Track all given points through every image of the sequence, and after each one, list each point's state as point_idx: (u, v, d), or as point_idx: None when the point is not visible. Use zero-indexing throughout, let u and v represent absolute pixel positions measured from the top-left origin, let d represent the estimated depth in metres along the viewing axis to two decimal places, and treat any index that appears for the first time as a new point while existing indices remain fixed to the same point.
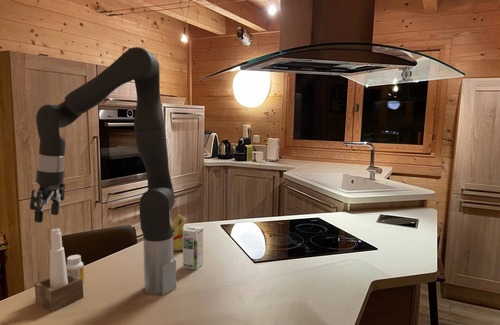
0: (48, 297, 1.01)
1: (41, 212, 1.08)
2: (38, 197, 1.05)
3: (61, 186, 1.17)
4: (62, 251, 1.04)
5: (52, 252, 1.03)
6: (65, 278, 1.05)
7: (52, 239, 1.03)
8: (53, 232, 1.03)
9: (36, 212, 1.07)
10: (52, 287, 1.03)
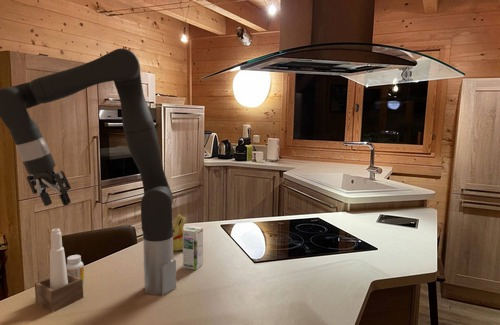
0: (48, 297, 1.01)
1: None
2: (64, 176, 1.03)
3: None
4: (62, 251, 1.04)
5: (52, 252, 1.03)
6: (65, 278, 1.05)
7: (52, 239, 1.03)
8: (53, 232, 1.03)
9: (64, 194, 1.05)
10: (52, 287, 1.03)
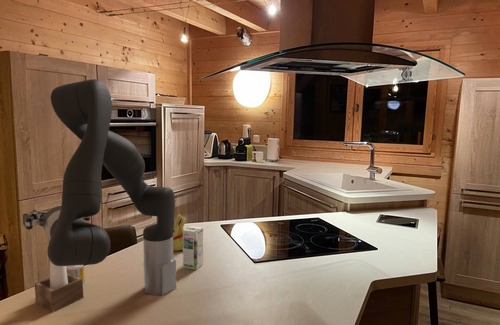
0: (48, 297, 1.01)
1: None
2: None
3: (31, 219, 0.82)
4: None
5: None
6: (65, 278, 1.05)
7: None
8: None
9: None
10: (52, 287, 1.03)
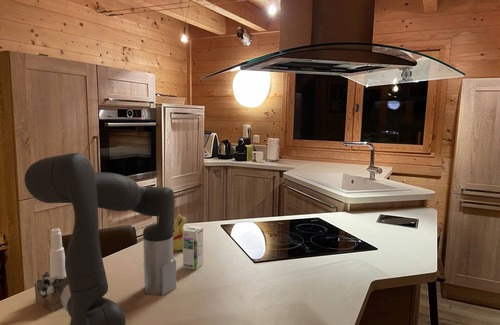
0: (48, 297, 1.01)
1: None
2: None
3: (46, 287, 0.88)
4: (62, 251, 1.04)
5: (52, 252, 1.03)
6: None
7: (52, 239, 1.03)
8: (53, 232, 1.03)
9: None
10: None
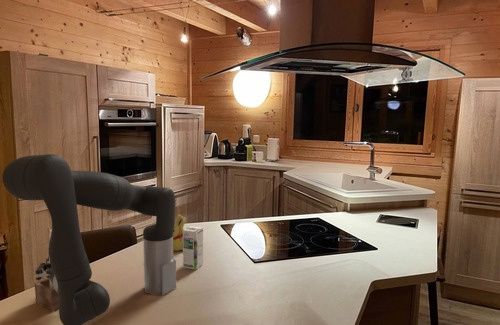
0: (48, 297, 1.01)
1: None
2: None
3: (41, 271, 0.96)
4: None
5: None
6: None
7: None
8: None
9: None
10: (52, 287, 1.03)
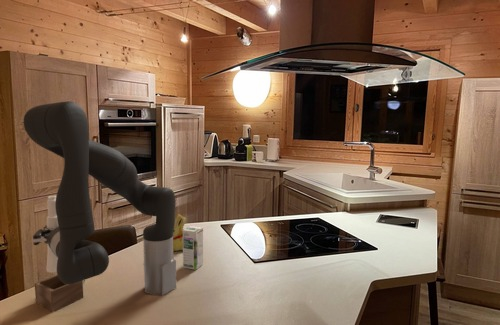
0: (48, 297, 1.01)
1: None
2: None
3: (38, 236, 0.95)
4: None
5: (49, 219, 1.01)
6: None
7: (48, 206, 1.01)
8: (49, 199, 1.01)
9: None
10: (50, 255, 1.02)
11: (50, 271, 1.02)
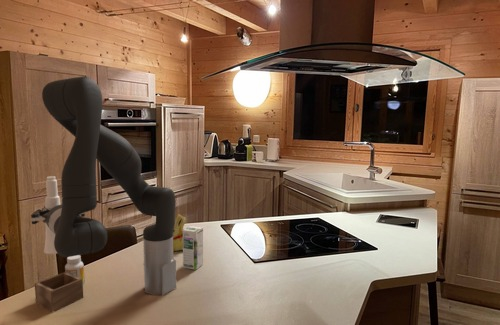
0: (48, 297, 1.01)
1: None
2: None
3: (36, 215, 0.94)
4: (58, 199, 1.02)
5: (47, 199, 1.00)
6: None
7: (47, 186, 1.00)
8: (48, 179, 1.00)
9: None
10: (48, 236, 1.01)
11: (48, 252, 1.01)
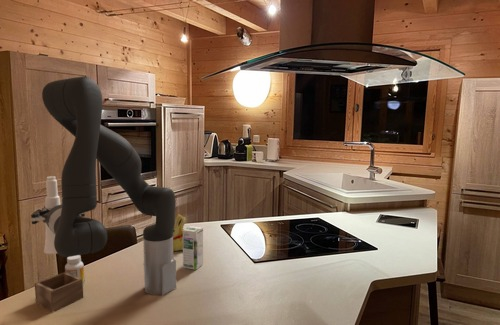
0: (48, 297, 1.01)
1: None
2: None
3: (36, 215, 0.94)
4: (58, 199, 1.02)
5: (47, 199, 1.00)
6: None
7: (47, 186, 1.00)
8: (48, 179, 1.00)
9: None
10: (48, 236, 1.01)
11: (48, 252, 1.01)
